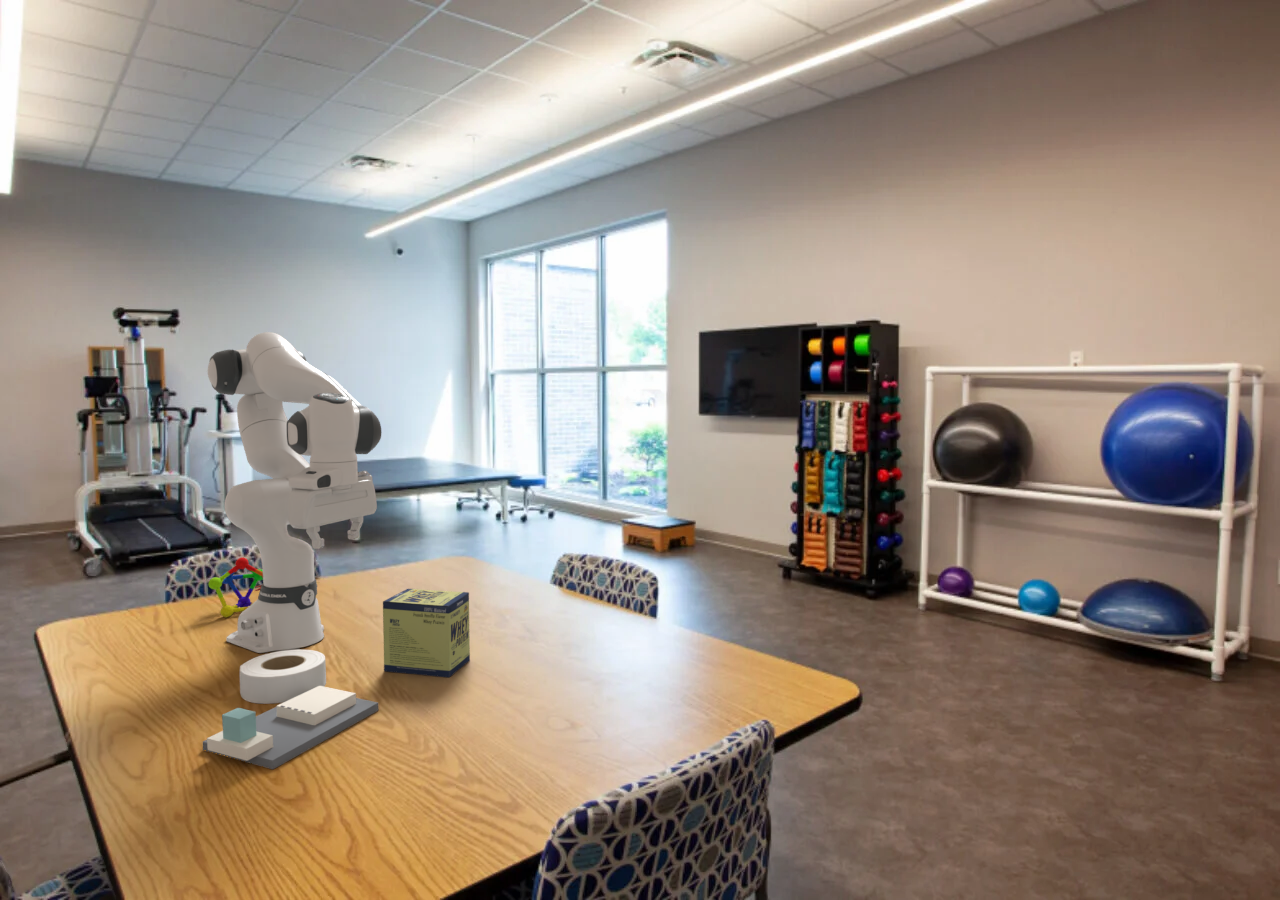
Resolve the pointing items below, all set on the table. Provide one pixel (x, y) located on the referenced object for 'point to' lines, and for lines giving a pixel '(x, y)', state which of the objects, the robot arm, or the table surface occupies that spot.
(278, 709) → the pad
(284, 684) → the roll of tape
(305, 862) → the table surface
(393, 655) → the protein box
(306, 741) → the desk mat
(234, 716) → the cube on white base
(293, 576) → the robot arm
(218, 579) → the educational toy
